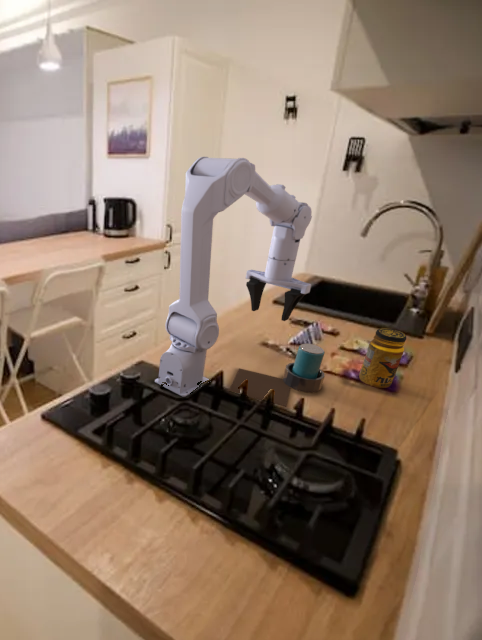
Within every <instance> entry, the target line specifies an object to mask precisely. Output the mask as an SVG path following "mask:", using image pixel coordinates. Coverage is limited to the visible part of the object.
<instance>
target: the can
mask: <svg viewBox="0 0 482 640" xmlns="http://www.w3.org/2000/svg"><path fill="white" fill-rule="evenodd" d="M324 357H325V350H324V349H323V347H321V346H319V345H316V344H313V343H302V344H300V345H298V348H297V352H296V356H295V359H294V361H293V363H294V366H293V369H292V373H293V374H295V375H297V376H300V377H303V378H308V379H316V378H317V375H318V372H319V369H321V365H322V362H323V359H324Z"/></svg>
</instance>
